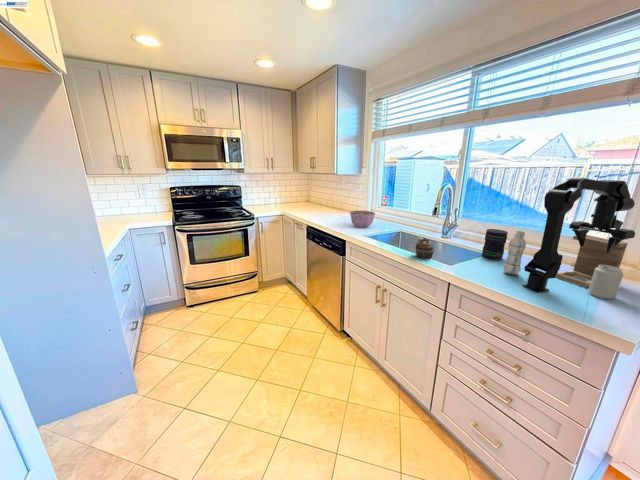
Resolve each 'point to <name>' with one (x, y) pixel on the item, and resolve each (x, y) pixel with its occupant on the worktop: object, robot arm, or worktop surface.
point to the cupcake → (424, 249)
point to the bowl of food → (362, 218)
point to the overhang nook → (592, 260)
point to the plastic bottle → (515, 253)
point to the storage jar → (494, 244)
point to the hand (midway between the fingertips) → (594, 249)
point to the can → (605, 282)
